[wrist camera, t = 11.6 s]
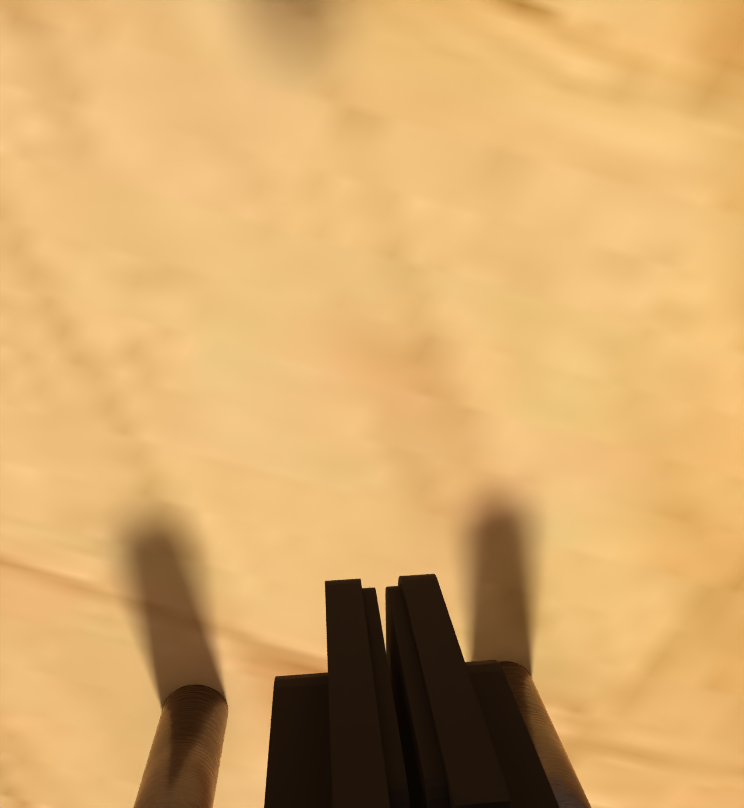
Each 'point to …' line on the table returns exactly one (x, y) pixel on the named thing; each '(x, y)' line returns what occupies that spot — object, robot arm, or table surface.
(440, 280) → the table surface
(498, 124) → the table surface
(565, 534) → the table surface
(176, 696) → the post
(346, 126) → the table surface
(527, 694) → the post
